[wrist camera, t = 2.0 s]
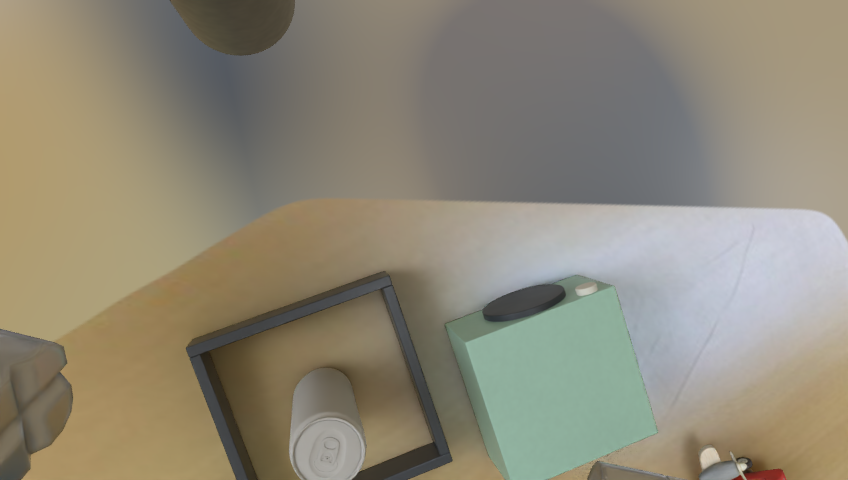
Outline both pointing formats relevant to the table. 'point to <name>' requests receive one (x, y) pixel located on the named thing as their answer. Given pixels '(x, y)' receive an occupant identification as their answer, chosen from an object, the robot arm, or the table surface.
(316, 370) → the beverage can
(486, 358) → the light green boxy block
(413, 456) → the dark gray square frame
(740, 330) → the table surface
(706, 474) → the toy airplane
